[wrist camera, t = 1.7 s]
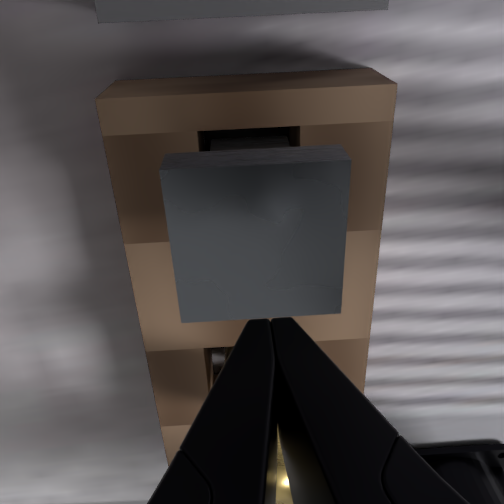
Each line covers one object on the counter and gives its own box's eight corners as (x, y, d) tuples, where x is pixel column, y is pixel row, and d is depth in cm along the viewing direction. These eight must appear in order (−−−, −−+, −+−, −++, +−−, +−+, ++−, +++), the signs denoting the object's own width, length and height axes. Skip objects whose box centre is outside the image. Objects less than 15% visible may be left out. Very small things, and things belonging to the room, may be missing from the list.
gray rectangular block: (317, 111, 15) (351, 159, 11) (314, 235, 17) (341, 313, 13) (177, 118, 15) (159, 170, 11) (192, 242, 17) (181, 323, 13)
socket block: (370, 68, 17) (397, 83, 14) (343, 405, 25) (357, 454, 23) (115, 80, 16) (94, 99, 14) (174, 416, 25) (168, 466, 22)
